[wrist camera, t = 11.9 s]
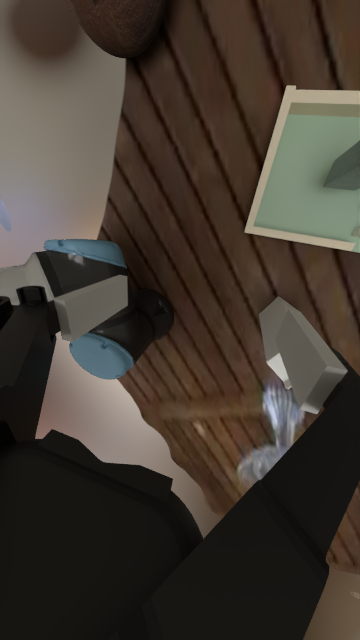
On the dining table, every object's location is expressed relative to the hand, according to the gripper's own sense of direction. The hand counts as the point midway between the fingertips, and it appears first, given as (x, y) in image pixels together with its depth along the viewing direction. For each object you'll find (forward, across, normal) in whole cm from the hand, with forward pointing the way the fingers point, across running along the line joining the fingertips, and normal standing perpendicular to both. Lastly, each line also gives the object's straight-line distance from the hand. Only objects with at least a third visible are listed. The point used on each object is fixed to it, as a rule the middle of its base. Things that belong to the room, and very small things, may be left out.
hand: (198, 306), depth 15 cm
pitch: (+29, -16, -14) cm, 36 cm away
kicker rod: (+27, -17, -14) cm, 35 cm away
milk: (+30, -15, +10) cm, 35 cm away
